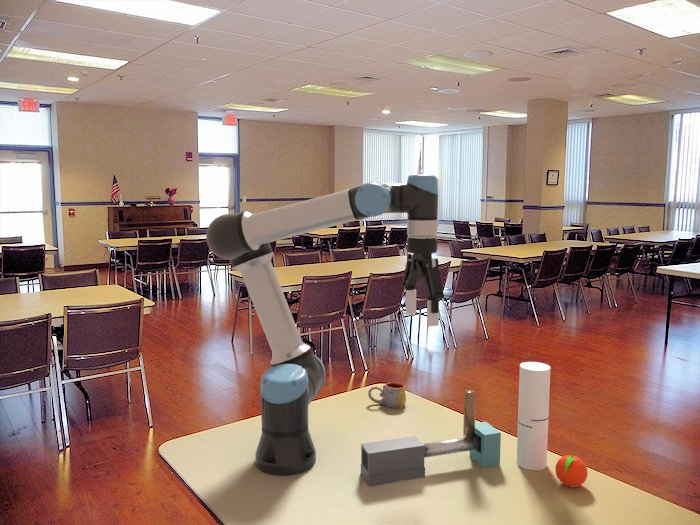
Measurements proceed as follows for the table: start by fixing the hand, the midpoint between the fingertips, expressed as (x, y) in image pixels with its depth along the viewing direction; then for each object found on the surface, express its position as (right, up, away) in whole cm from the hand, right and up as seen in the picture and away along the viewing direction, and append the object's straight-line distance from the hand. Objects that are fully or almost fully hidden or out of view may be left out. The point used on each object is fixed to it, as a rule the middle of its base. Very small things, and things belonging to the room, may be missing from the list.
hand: (421, 319), depth 147 cm
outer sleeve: (-8, -36, -10) cm, 38 cm away
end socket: (+16, -35, -2) cm, 39 cm away
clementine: (+32, -37, -15) cm, 51 cm away
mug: (-7, -31, +36) cm, 48 cm away
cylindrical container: (+27, -36, -4) cm, 45 cm away
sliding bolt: (+7, -32, -5) cm, 33 cm away
